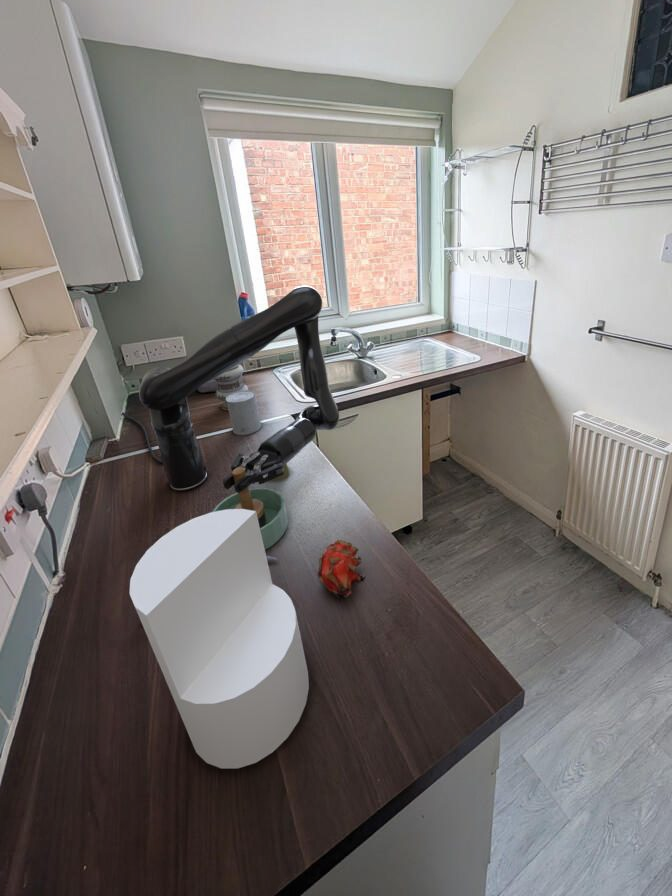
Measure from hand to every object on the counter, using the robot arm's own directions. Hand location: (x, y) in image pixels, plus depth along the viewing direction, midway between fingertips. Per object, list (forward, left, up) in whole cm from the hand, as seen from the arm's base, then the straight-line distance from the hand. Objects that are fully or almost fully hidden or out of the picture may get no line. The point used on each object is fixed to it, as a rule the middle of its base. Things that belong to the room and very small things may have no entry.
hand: (230, 487), depth 85 cm
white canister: (-38, +41, -14) cm, 58 cm away
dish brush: (0, +3, -13) cm, 13 cm away
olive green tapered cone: (-9, +23, -14) cm, 29 cm away
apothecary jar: (-57, +54, -14) cm, 80 cm away
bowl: (0, +3, -14) cm, 15 cm away
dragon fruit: (+27, -1, -14) cm, 31 cm away
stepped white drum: (+25, -24, -14) cm, 38 cm away
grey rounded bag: (-78, +66, -14) cm, 103 cm away
